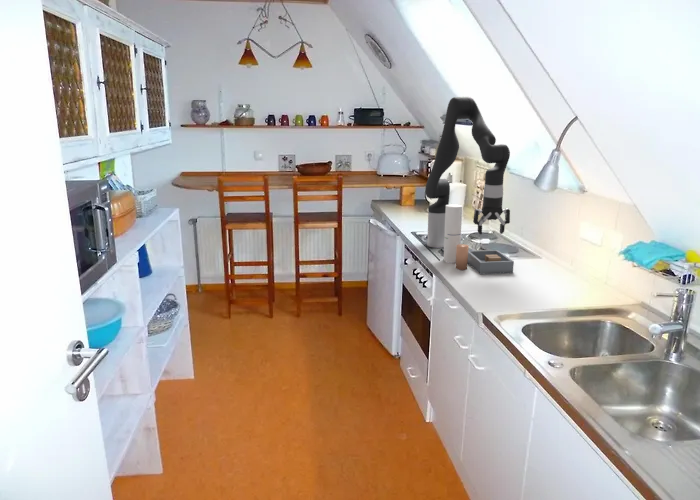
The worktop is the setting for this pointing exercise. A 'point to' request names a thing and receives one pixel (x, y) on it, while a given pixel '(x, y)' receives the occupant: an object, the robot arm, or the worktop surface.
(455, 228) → the cylindrical container
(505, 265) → the grey tote
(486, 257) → the walnut cube
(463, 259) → the terracotta capsule
